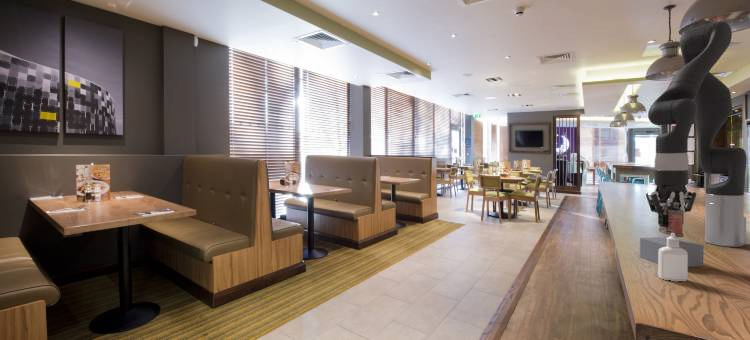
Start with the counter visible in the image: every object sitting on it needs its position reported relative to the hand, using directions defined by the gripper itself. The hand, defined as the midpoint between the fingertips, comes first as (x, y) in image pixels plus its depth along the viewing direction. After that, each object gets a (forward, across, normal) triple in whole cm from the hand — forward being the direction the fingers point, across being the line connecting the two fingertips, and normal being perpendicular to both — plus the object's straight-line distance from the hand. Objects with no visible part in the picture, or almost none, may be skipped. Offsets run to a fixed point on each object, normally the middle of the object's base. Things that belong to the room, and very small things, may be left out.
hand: (670, 226), depth 100 cm
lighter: (+2, 0, 0) cm, 2 cm away
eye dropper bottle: (+11, +12, +13) cm, 21 cm away
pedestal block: (+11, 0, 0) cm, 11 cm away
